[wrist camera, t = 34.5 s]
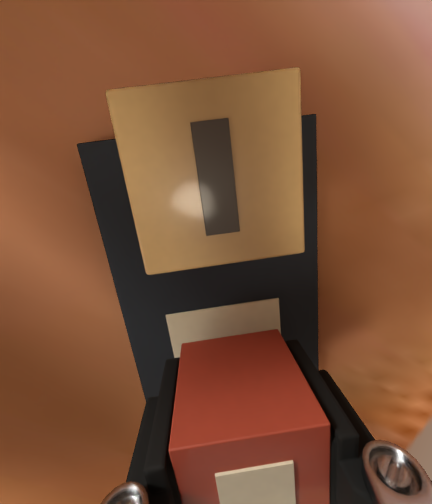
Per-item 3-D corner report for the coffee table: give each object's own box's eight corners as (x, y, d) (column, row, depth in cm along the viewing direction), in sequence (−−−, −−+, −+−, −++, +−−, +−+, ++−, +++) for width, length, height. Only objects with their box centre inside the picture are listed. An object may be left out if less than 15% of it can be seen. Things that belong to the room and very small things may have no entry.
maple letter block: (167, 241, 9) (144, 277, 5) (147, 135, 8) (101, 86, 4) (263, 227, 10) (307, 254, 6) (255, 121, 8) (303, 62, 5)
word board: (179, 512, 15) (179, 527, 14) (79, 129, 9) (69, 124, 8) (315, 488, 15) (320, 502, 14) (309, 101, 9) (317, 94, 8)
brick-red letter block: (196, 417, 10) (193, 555, 6) (181, 343, 9) (167, 454, 5) (282, 403, 10) (331, 531, 7) (277, 328, 9) (332, 427, 6)
